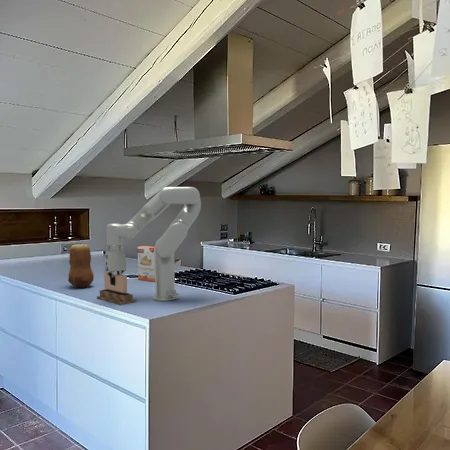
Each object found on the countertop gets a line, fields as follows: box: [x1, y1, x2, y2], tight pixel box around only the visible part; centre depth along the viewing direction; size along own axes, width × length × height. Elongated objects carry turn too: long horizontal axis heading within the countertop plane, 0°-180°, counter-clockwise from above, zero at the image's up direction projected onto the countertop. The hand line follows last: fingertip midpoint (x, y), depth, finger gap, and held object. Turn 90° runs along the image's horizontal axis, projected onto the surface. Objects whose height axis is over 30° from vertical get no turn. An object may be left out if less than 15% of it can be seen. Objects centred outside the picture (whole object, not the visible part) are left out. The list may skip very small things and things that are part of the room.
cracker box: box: [137, 245, 156, 283], centre depth 284 cm, size 14×6×21 cm, turn 56°
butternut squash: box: [67, 243, 95, 289], centre depth 264 cm, size 14×13×25 cm
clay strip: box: [103, 272, 128, 293], centre depth 233 cm, size 16×2×8 cm, turn 47°
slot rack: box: [96, 288, 137, 306], centre depth 233 cm, size 21×9×4 cm, turn 48°
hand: (115, 284), depth 233 cm, fingers closed on clay strip, 2 cm apart
